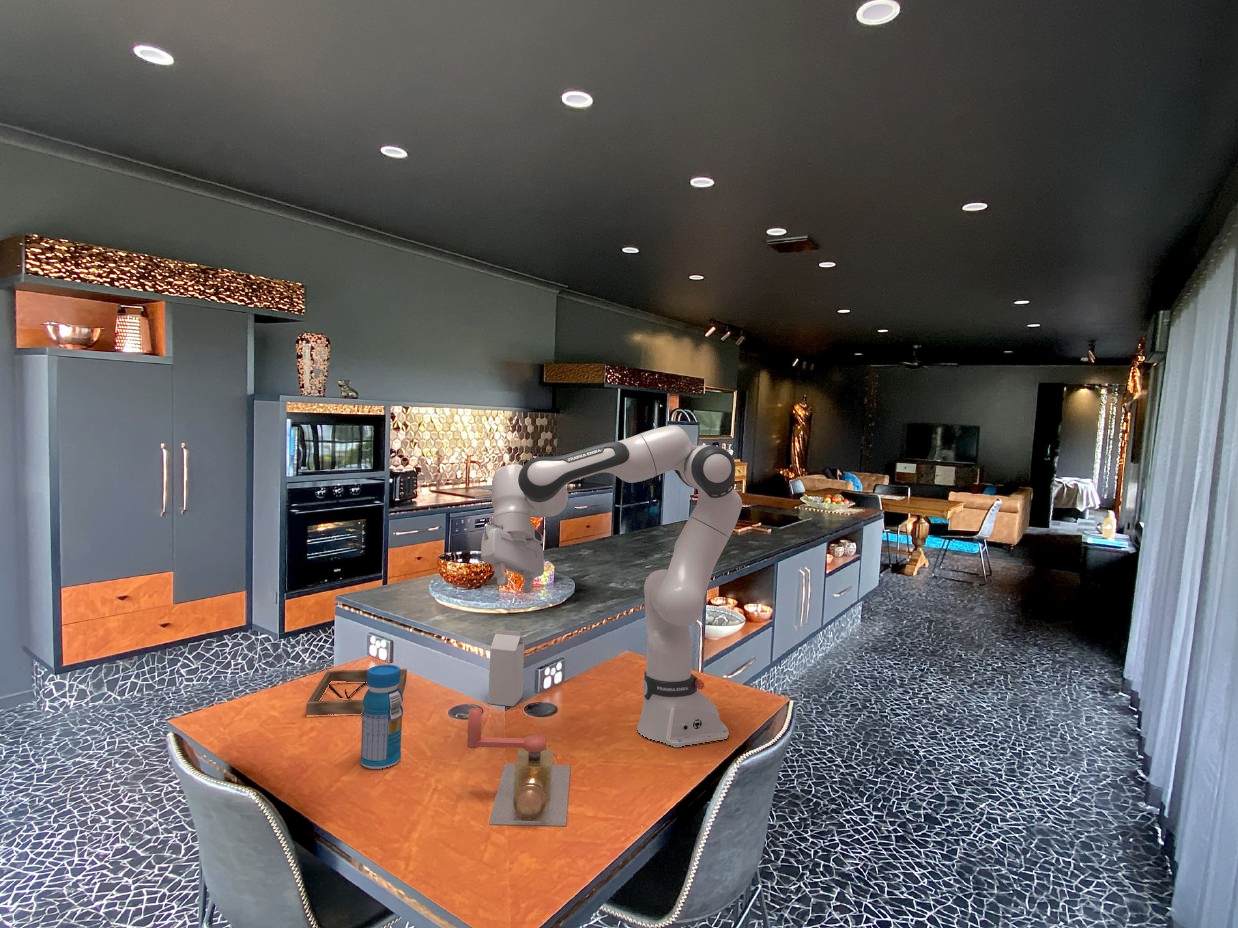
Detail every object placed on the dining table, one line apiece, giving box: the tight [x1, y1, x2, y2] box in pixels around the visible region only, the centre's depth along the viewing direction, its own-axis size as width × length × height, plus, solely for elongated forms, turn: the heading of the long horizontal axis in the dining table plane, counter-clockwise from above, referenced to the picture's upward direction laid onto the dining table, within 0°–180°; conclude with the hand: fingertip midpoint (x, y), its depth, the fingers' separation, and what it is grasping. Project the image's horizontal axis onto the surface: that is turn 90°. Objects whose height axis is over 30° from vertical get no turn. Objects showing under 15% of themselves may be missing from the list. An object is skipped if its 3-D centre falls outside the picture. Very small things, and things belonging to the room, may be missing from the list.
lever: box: [466, 707, 547, 752], centre depth 134 cm, size 16×4×7 cm, turn 92°
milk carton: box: [487, 629, 525, 707], centre depth 182 cm, size 7×7×19 cm
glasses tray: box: [305, 668, 408, 716], centre depth 180 cm, size 21×24×4 cm
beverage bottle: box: [360, 664, 404, 770], centre depth 145 cm, size 8×8×20 cm
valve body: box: [488, 747, 571, 827], centre depth 134 cm, size 22×14×9 cm, turn 2°
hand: (515, 588), depth 152 cm, fingers open, 8 cm apart
